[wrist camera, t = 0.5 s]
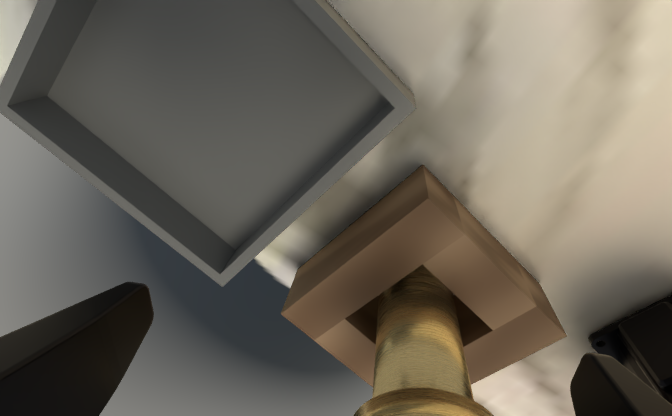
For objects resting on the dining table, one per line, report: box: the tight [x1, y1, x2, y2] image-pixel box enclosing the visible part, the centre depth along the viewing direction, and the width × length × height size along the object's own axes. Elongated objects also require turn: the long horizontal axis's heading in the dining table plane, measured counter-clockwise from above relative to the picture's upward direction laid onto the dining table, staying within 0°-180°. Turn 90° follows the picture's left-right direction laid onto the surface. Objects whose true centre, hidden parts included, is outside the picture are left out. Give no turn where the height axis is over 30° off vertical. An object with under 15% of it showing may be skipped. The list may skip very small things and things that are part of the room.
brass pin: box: [354, 264, 493, 416], centre depth 18 cm, size 6×6×12 cm
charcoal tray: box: [0, 0, 416, 287], centre depth 19 cm, size 14×14×3 cm
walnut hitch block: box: [281, 165, 567, 387], centre depth 21 cm, size 10×10×4 cm
